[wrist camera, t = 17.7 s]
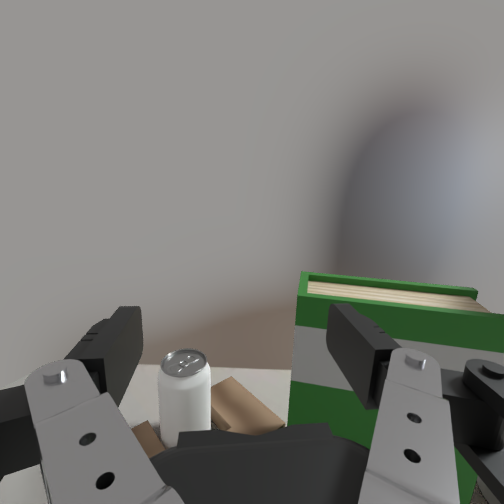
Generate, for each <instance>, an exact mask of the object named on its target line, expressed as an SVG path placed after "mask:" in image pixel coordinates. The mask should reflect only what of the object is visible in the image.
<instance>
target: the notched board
mask: <svg viewBox="0 0 504 504" xmlns="http://www.w3.org/2000/svg"><path fill="white" fill-rule="evenodd" d="M211 420H212V421H213V422H214V423H215V424H216V426H217V427H218V428H219V429H220V430H224V431H230V432H236V433H242V434H248V435H261V434H264V433H268V432H271V431H274V430H277V429H280V428H284V427H285V422H284V421H282V420H281V419H280V418H279V417H278V416H277V415H276V414H274V413H273V412H272V411H271V410H270V409H269V408H267V407H266V406H265V405H264V404H263V403H262V402H261V401H259V400H258V399H257V398H256V397H255V396H254V395H252V394H251V393H250V392H249V391H248V390H247V389H245V388H244V387H243V386H242V385H241V384H240V383H239V382H237V381H236V380H235V379H234V378H233V377H232V376H231V377H229V378H227V379H225V380H223V381H221V382H220V383H218V384H216V385H214V386H212V387H211ZM131 430H132V432H133V433H134V435H135V437H136V438H137V440H138V442H139V443H140V445H141V447H142V448H143V450H144V452H145V453H146V455H147V457H148V458H151V457H152V456H154V455H156V454H158V453H160V452H161V451H164V450H165V448H164V446H163V445H162V443H161V441H160V440H159V438H158V437H157V435H156V433H155V432H154V430H153V428H152V427H151V425H150V423H149V422H148V420H147V421H145V422H143V423H141V424H140V425H138V426H136V427H134V428H132V429H131Z"/></svg>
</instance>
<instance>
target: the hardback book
mask: <svg viewBox="0 0 504 504" xmlns="http://www.w3.org/2000/svg"><path fill="white" fill-rule="evenodd" d="M477 294H478V291H477V290H476V289H474V288H469V287H458V286H448V285H437V284H427V283H417V282H406V281H395V280H385V279H374V278H365V277H354V276H344V275H333V274H323V273H313V272H301V277H300V283H299V289H298V295H297V308H296V321H295V333H294V347H293V359H292V372H291V385H290V398H289V411H288V423H287V426H290V425H295V424H310V423H326V422H328V424H329V427H330V429H331V431H332V434H333V435H335V436H340V437H343V438H347V439H349V440H352V441H355V442H357V443H359V444H361V445H363V446H365V447H367V448H368V449H371V444H372V439H373V435H374V430H375V425H376V421H377V416H378V411H379V409H374V410H365V408H364V406H363V405H362V403H361V402H360V400H359V398H358V397H357V395H356V394H355V392H354V391H353V389H352V387H351V386H350V384H349V383H348V381H347V379H346V378H345V376H344V375H343V373H342V372H341V370H340V368H339V367H338V365H337V364H336V362H335V360H334V359H333V357H332V356H331V354H330V353H329V351H328V348H327V344H326V331H327V322H328V312H329V307H330V305H331V304H344V303H348V304H350V305H351V306H352V307H353V308H354V309H355V310H356V311H357V312H358V313H359V314H362V315H364V316H366V317H368V318H370V319H372V320H373V321H374V322H375V323H376V324H377V325H378V326H379V328H382V329H383V330H384V331H385V333H387V334H388V335H389V336H390V337H391V338H392V339H394V340H395V341H396V342H397V343H398V344H399V345H400V346H401V347H402V348H410V349H415V350H418V351H421V352H423V353H426V354H428V355H429V356H431V357H432V358H434V359H435V360H436V361H437V362H438V363H439V365H440V368H442V369H448V370H454V371H460V372H464V369H465V365H466V362H467V360H470V359H483V360H488V361H491V362H494V363H497V364H500V365H502V366H504V314H495V313H491V312H490V311H488V310H487V309H486V308H484V307H483V306H481V305H480V304H479V303H477V302H476V298H477ZM454 452H455V461H456V471H457V480H458V490H459V499H460V504H470V501H471V497H472V494H473V491H474V487H475V484H476V480H477V477H478V475H477V474H476V472H475V471H474V470H473V469H472V467H471V466H470V465H469V464H468V462H467V461H466V460H465V459H464V458H463V456H462V455H461V454H460V453H459V451H458V450H457V449H456V448H455V446H454Z"/></svg>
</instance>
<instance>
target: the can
mask: <svg viewBox="0 0 504 504" xmlns="http://www.w3.org/2000/svg"><path fill="white" fill-rule="evenodd" d="M158 396H159V415H160V432H161V443H162V445H163V446H164V448H165V450H166V449H169V448H171V447H174V446H177V441H178V435H179V432H185V431H201V430H211V374H210V367H209V365H208V363H207V357H206V355H205V354H204V353H203V352H201V351H199V350H196V349H188V348H187V349H179V350H176V351H173V352H171V353H169V354H168V355H166V356H165V357H164V358H163V360H162V361H161V368H160V370H159V373H158Z"/></svg>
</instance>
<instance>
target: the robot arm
mask: <svg viewBox="0 0 504 504" xmlns="http://www.w3.org/2000/svg"><path fill="white" fill-rule="evenodd" d="M326 344H327V348H328V351H329V353H330V354H331V356H332V357H333V359H334V360H335V362H336V364H337V365H338V367H339V368H340V370H341V372H342V373H343V375H344V376H345V378H346V379H347V381H348V383H349V384H350V386H351V387H352V389H353V391H354V392H355V394H356V395H357V397H358V398H359V400H360V402H361V403H362V405H363V406H364V408H365V410H374V409H379V411H378V416H377V421H376V425H375V430H374V435H373V439H372V444H371V449H368V448H367V447H365V446H363V445H361V444H359V443H357V442H355V441H352V440H349V439H347V438H343V437H340V436H335V435H333V434H332V431H331V429H330V427H329V424H328V422H326V423H310V424H295V425H290V426H287V427H284V428H280V429H277V430H274V431H271V432H268V433H264V434H261V435H248V434H242V433H236V432H230V431H224V430H217V429H216V430H201V431H185V432H179V435H178V441H177V446H174V447H171V448H169V449H166V450H164V451H161V452H160V453H158V454H156V455H154V456H152V457H151V458H148V457H147V455H146V453H145V452H144V450H143V448H142V447H141V445H140V443H139V442H138V440H137V438H136V437H135V435H134V433H133V432H132V430H131V428H130V427H129V425H128V424H127V422H126V420H125V419H124V417H123V415H122V414H121V412H120V410H119V409H118V407H119V405H120V403H121V400H122V398H123V396H124V394H125V391H126V389H127V387H128V385H129V383H130V380H131V378H132V376H133V374H134V371H135V369H136V367H137V365H138V362H139V360H140V358H141V355H142V351H143V331H142V317H141V309H140V307H139V306H124V307H123V306H121V307H119V308H118V309H117V310H116V311H115V313H114V314H113V315H112V316H111V318H110V319H103V320H102V321H100V322H98V323H97V324H95V325H93V326H92V327H91V329H90V330H89V331H88V332H87V333H86V335H85V336H84V337H83V338H82V339H81V341H79V342H78V343H77V345H76V346H75V347H74V348H73V349H72V350H71V351H70V353H69V354H68V355H67V356H66V357H65V358H64V359H63V360H59V361H55V362H51V363H49V364H46V365H44V366H42V367H40V368H38V369H36V370H35V371H33V372H32V373H31V374H30V375H29V376H28V377H27V378H26V380H25V383H24V385H21V386H17V387H13V388H8V389H4V390H0V481H1V480H2V478H3V477H4V476H5V475H8V474H11V473H14V472H17V471H20V470H23V469H26V468H29V467H32V466H35V465H38V464H40V469H41V474H42V478H43V483H44V487H45V492H46V496H47V501H48V504H460V499H459V490H458V480H457V471H456V461H455V452H454V446H455V448H456V449H457V450H458V451H459V453H460V454H461V455H462V456H463V458H464V459H465V460H466V461H467V462H468V464H469V465H470V466H471V467H472V469H473V470H474V471H475V472H476V474H477V475H478V477H477V483H478V486H479V488H480V490H481V492H482V494H483V496H484V497H485V499H486V500H487V501H488V503H489V504H504V366H502V365H500V364H497V363H494V362H491V361H488V360H483V359H470V360H467V362H466V365H465V369H464V372H460V371H454V370H448V369H442V368H440V365H439V363H438V362H437V361H436V360H435V359H434V358H432V357H431V356H429V355H428V354H426V353H423V352H421V351H418V350H415V349H410V348H402V347H401V346H400V345H399V344H398V343H397V342H396V341H395V340H394V339H392V338H391V337H390V336H389V335H388V334H387V333H385V331H384V330H383V329H382V328H379V326H378V325H377V324H376V323H375V322H374V321H373V320H372V319H370V318H368V317H366V316H364V315H362V314H359V313H358V312H357V311H356V310H355V309H354V308H353V307H352V306H351V305H350V304H348V303H344V304H331V305H330V307H329V312H328V322H327V331H326Z"/></svg>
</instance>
